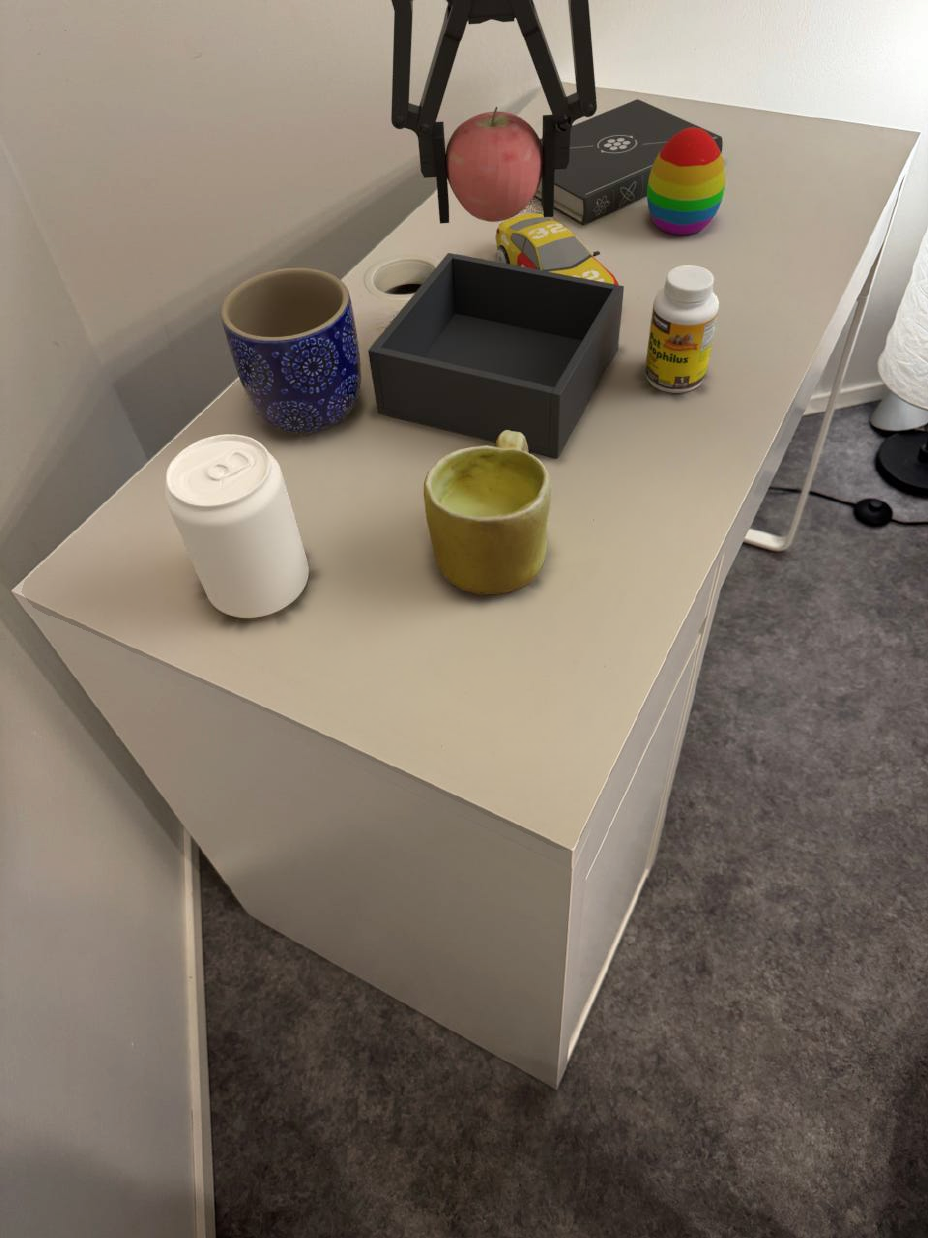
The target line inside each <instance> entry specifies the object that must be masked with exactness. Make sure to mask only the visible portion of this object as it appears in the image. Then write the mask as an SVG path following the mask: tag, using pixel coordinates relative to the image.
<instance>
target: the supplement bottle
mask: <svg viewBox="0 0 928 1238" xmlns="http://www.w3.org/2000/svg"><path fill="white" fill-rule="evenodd" d="M665 278H666V279H665V282H664V283H665V284H664V287H662V288H661V289H659V291H657V293H656V295H655V296H654V299H653V303H652V312H651V318H650V326H649V334H648V340H647V342H648V343H647V350H646V358H645V365H644V367H645V368H644V374H645V377H646V380H647V381H648V383H649V384H650V385H651V386H653V387H654V388H656V389H658V390H660V391H663V392H666V393H671V394H679V393H680V394H681V393H682V394H683V393H686V392H690V391H693V390H695V389H697V388H698V387H699V386H701V384H702V383H703V382H704V380H705V378H706V375H707V369H708V365H709V360H710V354H711V351H712V350H711V348H712V346H713V339H714V334H715V329H716V325H717V318H718V315H719V308H720V302H719V298H718V296H717V294H716V293H715V292H714V283H715V276H714V274H713V273H712V272H711V270H709V269H707V268H705V267H702V266H700V265H694V264H683V265H678V266H676V267H673V268H672V269H670V270H669V271H668V272H667V274H666V277H665Z"/></svg>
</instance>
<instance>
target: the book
mask: <svg viewBox="0 0 928 1238" xmlns="http://www.w3.org/2000/svg"><path fill="white" fill-rule="evenodd" d="M690 127H696V128H700V129H703V130H704V131H706V132H707V133H708V134H709V135H710V136H711V137H712V138H713V139H714V141H715V142H716V144H717V146H718V148H719V150H720V152H721V155H723V154H722V153H723V145H724V143H723V142H724V141H723V136H721V135H719V134H717V133H715V132H712V131H710V130H708V129H706V128H703V127H701V126H699V125H697V124H694V123H693V122H691V121H688V120H686V119H684V118H681V117H680V116H677V115H674V114H672V113H669V111H666V110H663V109H662V108H659V107H656V106H654V105H652V104H650V103H648V102H645V101H643V100H641V99H638V98H637V99H635V100H632V101H629V102H627V103H624V104H622V105H620V106H617V107H615V108H612V109H610V110H607V111H605V112H602V113H600V114H598V115H595V116H592V117H589V118H588V119H585V120H583V121H581V122H578V123H576V124H572V128H571V130H570V156H569V164H568V166H567V169H555V174H554V209H555V210H557V211H558V212H560V213H562V214H564V215H565V216H567V217H568V218H570V219H572V220H574V221H575V222H577V223H579V224H581V225H586V224H589V223H591V222H593V221H595V220H597V219H600V218H601V217H602V218H603V217H604V216H606V215H608V214H610V213H613V212H615V211H617V210H620V209H621V208H623V207H626V206H628V205H630V204H632V203H635V202H636V201H639V200H640V199H642V198H645V197H647V185H648V180H649V176H650V172H651V169H652V166H653V164H654V162H655V160H656V158H657V156H658V154H659V152H660V151H661V149H662V148H663V147H664V145H665V144H666V143H667V142H668V141H669V140H670V139H671V138H672V137H673V136H674V135H675V134H677V133H678V132H680V131H681V130H683V129H686V128H690ZM539 139H540V141H541V144H542V138H539ZM533 198H536V199H538V200H539V201H541V202H542V200H541V199H542V177H541V181H540V184H539V187H538V189H537V191H536V193H535V195H534V197H533Z"/></svg>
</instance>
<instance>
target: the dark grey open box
mask: <svg viewBox="0 0 928 1238" xmlns="http://www.w3.org/2000/svg"><path fill="white" fill-rule="evenodd" d="M624 290H625V286H624V285H615V284H611V283H605V282H600V281H595V280H590V279H584V278H579V277H574V276H569V275H563V274H558V273H553V272H548V271H542V270H537V269H532V268H526V267H521V266H516V265H511V264H505V263H500V262H498V261H494V260H491V259H490V260H489V259H484V258H478V257H475V256H474V257H473V256H469V255H462V254H458V253H450V252H447V254H446V255H445V256H444V257H443V259H442V260H441V261H440V262H439V263H438V264H437V266H436V267H435V268H434V269H433V271H432V272H431V273H430V274H429V276H428V277H426V278H425V280H424V282H422V284H421V285H420V286H419V287H418V289H417V290H416V291H415V292H414V294H413V295H412V296H411V297H410V299H409V300H407V302H406V303H405V304H404V306H403V307H402V308H401V310H399V312H398V313H397V314H396V316H395V317H394V318H393V319H392V320H391V321H390V323H389V324H388V325H387V326H386V327H385V329H384V330H383V332H381V334H380V335H379V336H378V338H377V339H376V340H375V341H374V342H373V343H372V344H371V346H370V347H369V348H368V350H367V354H368V361H369V366H370V367H369V368H370V372H371V379H372V386H373V390H374V397H375V402H376V403H375V404H376V410H377V413H378V414H380V415H385V416H389V417H392V418H396V419H400V420H404V421H408V422H413V423H416V424H420V425H423V426H429V427H431V428H432V427H433V428H436V429H440V430H443V431H447V432H452V433H456V434H460V435H464V436H467V437H470V438H471V437H472V438H475V439H479V440H482V441H487V442H491V443H495V444H496V440H497V439H498V437H499V435H500V434H501V433H502V432H503V431H505V430H509V431H515V432H520V433H522V434H523V435H524V436H525V439H526V442H527V445H528V452H530V453H535V454H538V455H542V456H546V457H550V458H555V459H559V457H560V455H561V454H562V451H563V450H564V448H565V446H566V445H567V443H568V440H569V439H570V437H571V435H572V434H573V432H574V430H575V429H576V427H577V425H578V423H579V421H580V419H581V417H582V416H583V413H584V412H585V410H586V408H587V406H588V404H589V402H590V401H591V399H592V397H593V396H594V394H595V392H596V390H597V388H598V387H599V384H600V383H601V381H602V379H603V377H604V376H605V374H606V372H607V370H608V369H609V367H610V365H611V363H612V361H613V359H614V358H615V356H616V354H617V352H618V350H619V343H620V332H621V321H622V311H623V301H624V292H625V291H624Z"/></svg>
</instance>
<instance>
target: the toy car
mask: <svg viewBox="0 0 928 1238" xmlns="http://www.w3.org/2000/svg"><path fill="white" fill-rule="evenodd" d="M495 242H496V262H500V263H505V264H511V265H516V266H521V267H526V268H532V269H537V270H542V271H548V272H553V273H558V274H563V275H569V276H574V277H579V278H584V279H590V280H595V281H600V282H605V283H611V284H615V285H619V282H618V280H617V278H616V277H615V275H614V274H613V273H612V272H611V271H610V270H609V269H607V267H605V266H604V265H603V264H602V263H601V262H600V261H599V260H598V259H596V258H595V257H597V256H599V255H601V252H600V251H599V250H596V251H593V253H591V252H590V251H589V249H588V248H587V247H586V246H585V245H584V243H582V241H580V239H578V238H577V236H576V235H575V234H574V233H573V232H571V230H569V228H567V227H566V226H564V225H563V224H562V223H560V222H559V221H556V220H554V219H551V217H544V215H543V213H540V212H531V213H525V214H520V215H519V214H518V215H515V216H513V217H512V218H509V219H507V220H503V221H502V222H500V224H499V225H498V227H497V229H496V230H495Z"/></svg>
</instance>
